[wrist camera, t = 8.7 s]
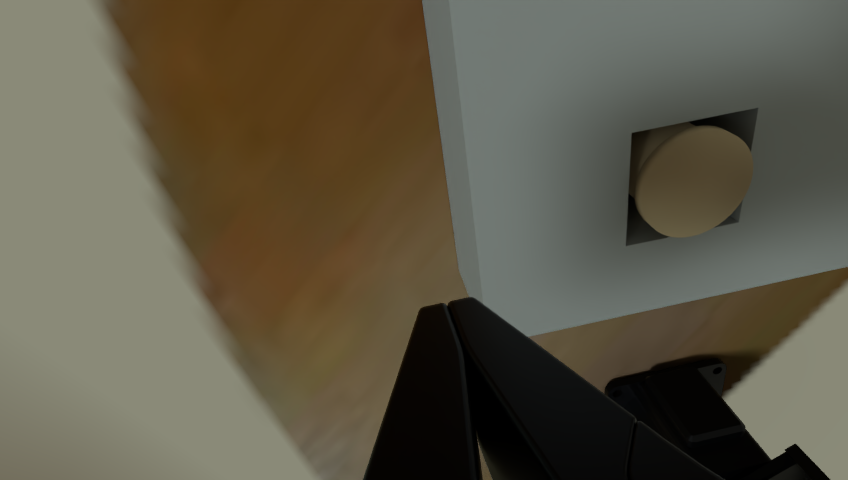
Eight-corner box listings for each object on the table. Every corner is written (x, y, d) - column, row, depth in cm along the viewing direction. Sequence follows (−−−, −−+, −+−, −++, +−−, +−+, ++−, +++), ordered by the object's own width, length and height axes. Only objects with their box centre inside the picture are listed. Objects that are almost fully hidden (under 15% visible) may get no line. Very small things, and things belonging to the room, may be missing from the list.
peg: (657, 163, 23) (743, 225, 18) (573, 180, 22) (638, 247, 18) (663, 76, 21) (762, 120, 16) (572, 93, 21) (645, 143, 16)
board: (762, 206, 25) (853, 265, 20) (458, 270, 24) (488, 345, 20) (871, -355, 15) (1080, -463, 11) (383, -282, 15) (407, -369, 10)
